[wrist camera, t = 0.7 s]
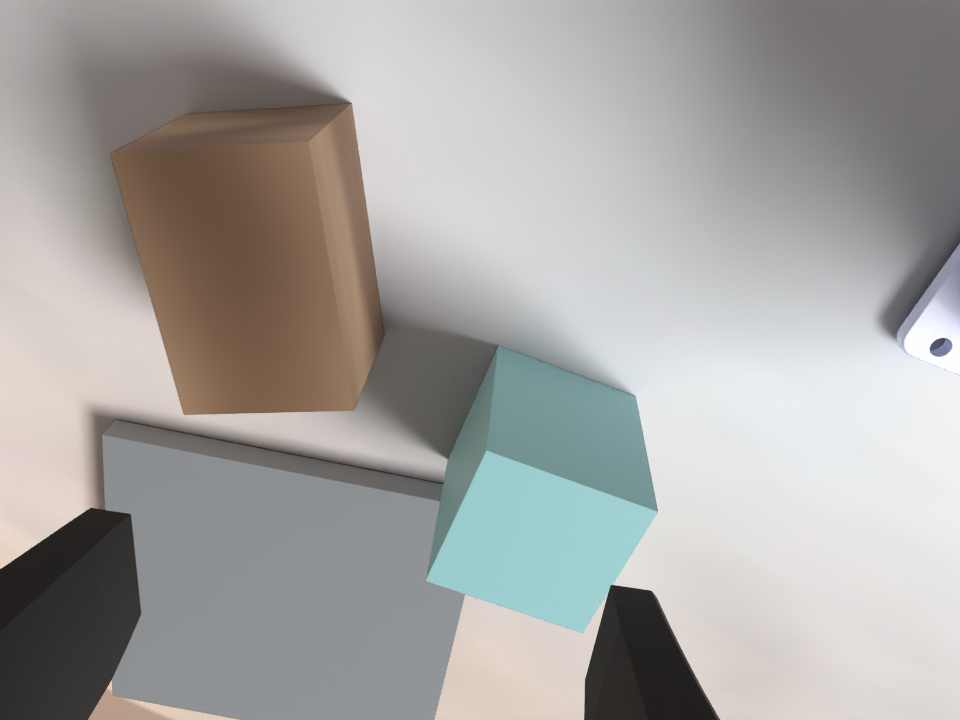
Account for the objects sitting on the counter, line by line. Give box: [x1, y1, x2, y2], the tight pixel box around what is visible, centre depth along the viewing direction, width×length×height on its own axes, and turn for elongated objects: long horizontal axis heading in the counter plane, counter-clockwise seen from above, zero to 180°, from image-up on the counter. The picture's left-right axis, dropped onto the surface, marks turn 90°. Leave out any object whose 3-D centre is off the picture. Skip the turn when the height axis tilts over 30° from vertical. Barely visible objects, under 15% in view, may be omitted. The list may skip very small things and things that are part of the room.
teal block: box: [426, 345, 658, 633], centre depth 21 cm, size 4×4×5 cm
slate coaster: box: [102, 420, 465, 720], centre depth 26 cm, size 11×11×1 cm
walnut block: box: [110, 103, 385, 415], centre depth 19 cm, size 4×6×4 cm, turn 4°
